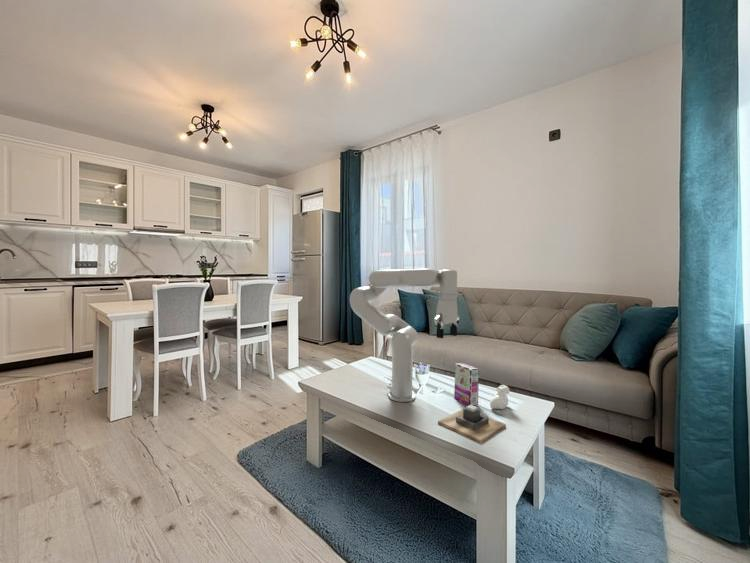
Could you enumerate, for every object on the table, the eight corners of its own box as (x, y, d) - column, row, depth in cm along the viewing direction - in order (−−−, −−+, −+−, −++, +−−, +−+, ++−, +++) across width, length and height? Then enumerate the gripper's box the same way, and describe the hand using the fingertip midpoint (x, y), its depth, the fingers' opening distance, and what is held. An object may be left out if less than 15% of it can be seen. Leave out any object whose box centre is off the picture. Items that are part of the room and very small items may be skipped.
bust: (494, 417, 132) (511, 400, 127) (480, 402, 136) (497, 385, 131) (505, 408, 140) (521, 393, 135) (492, 394, 144) (508, 379, 139)
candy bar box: (478, 405, 138) (479, 368, 137) (469, 407, 136) (470, 369, 135) (462, 396, 148) (463, 362, 148) (453, 398, 146) (454, 363, 146)
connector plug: (463, 422, 120) (463, 406, 119) (469, 418, 122) (470, 403, 122) (473, 426, 116) (473, 410, 116) (480, 423, 119) (480, 407, 119)
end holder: (437, 423, 120) (438, 415, 120) (464, 410, 132) (464, 403, 132) (480, 442, 107) (480, 434, 107) (505, 426, 118) (505, 419, 118)
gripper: (452, 296, 146) (451, 333, 146) (428, 297, 134) (427, 337, 135) (466, 297, 140) (465, 335, 140) (442, 299, 129) (441, 340, 129)
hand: (446, 336), depth 137 cm, fingers open, 9 cm apart
